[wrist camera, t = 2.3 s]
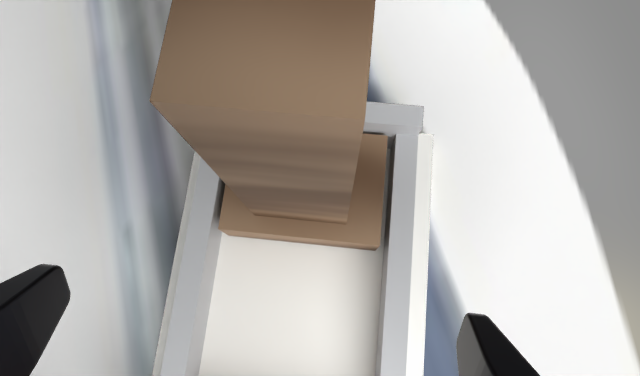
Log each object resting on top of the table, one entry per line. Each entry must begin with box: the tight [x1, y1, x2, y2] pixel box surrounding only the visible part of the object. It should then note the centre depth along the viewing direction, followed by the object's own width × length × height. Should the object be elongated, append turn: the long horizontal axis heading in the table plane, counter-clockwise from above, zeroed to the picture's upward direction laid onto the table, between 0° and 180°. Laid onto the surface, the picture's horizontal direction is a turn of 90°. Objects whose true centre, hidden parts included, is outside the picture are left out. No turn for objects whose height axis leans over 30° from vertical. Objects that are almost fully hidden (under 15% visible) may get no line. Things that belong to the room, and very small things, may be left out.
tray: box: [152, 102, 433, 376], centre depth 18 cm, size 21×12×4 cm, turn 174°
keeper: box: [150, 0, 388, 251], centre depth 15 cm, size 5×7×13 cm
